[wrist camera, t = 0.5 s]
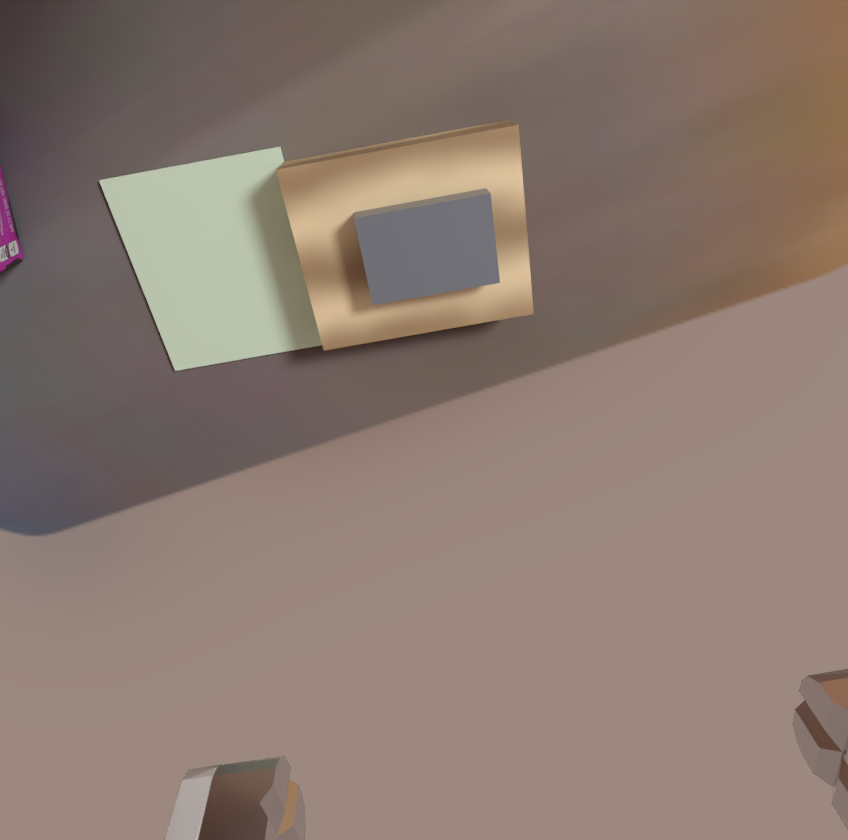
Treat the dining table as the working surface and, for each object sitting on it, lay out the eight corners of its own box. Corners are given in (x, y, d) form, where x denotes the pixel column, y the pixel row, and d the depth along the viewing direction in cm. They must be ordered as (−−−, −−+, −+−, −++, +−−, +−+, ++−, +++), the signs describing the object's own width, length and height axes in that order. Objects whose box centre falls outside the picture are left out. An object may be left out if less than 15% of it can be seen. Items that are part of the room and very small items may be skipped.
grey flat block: (355, 211, 43) (353, 218, 41) (486, 188, 42) (490, 193, 41) (372, 296, 46) (372, 305, 44) (495, 274, 45) (500, 282, 44)
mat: (100, 179, 44) (98, 180, 44) (280, 146, 44) (279, 146, 44) (176, 369, 52) (175, 371, 52) (330, 342, 51) (330, 343, 51)
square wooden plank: (284, 161, 45) (275, 169, 41) (507, 120, 44) (518, 124, 41) (327, 331, 51) (323, 350, 47) (523, 296, 50) (533, 313, 47)
